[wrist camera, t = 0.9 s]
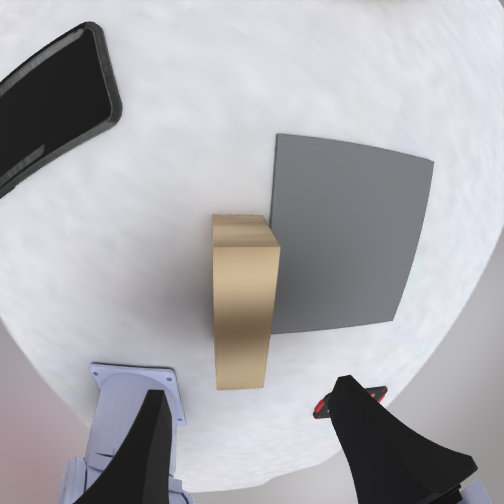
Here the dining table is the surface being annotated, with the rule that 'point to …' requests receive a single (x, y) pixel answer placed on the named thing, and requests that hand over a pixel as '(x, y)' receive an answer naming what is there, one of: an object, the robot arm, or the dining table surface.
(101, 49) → the phone
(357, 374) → the dining table surface
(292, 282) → the rubber mat
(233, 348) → the oak domino
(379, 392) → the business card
